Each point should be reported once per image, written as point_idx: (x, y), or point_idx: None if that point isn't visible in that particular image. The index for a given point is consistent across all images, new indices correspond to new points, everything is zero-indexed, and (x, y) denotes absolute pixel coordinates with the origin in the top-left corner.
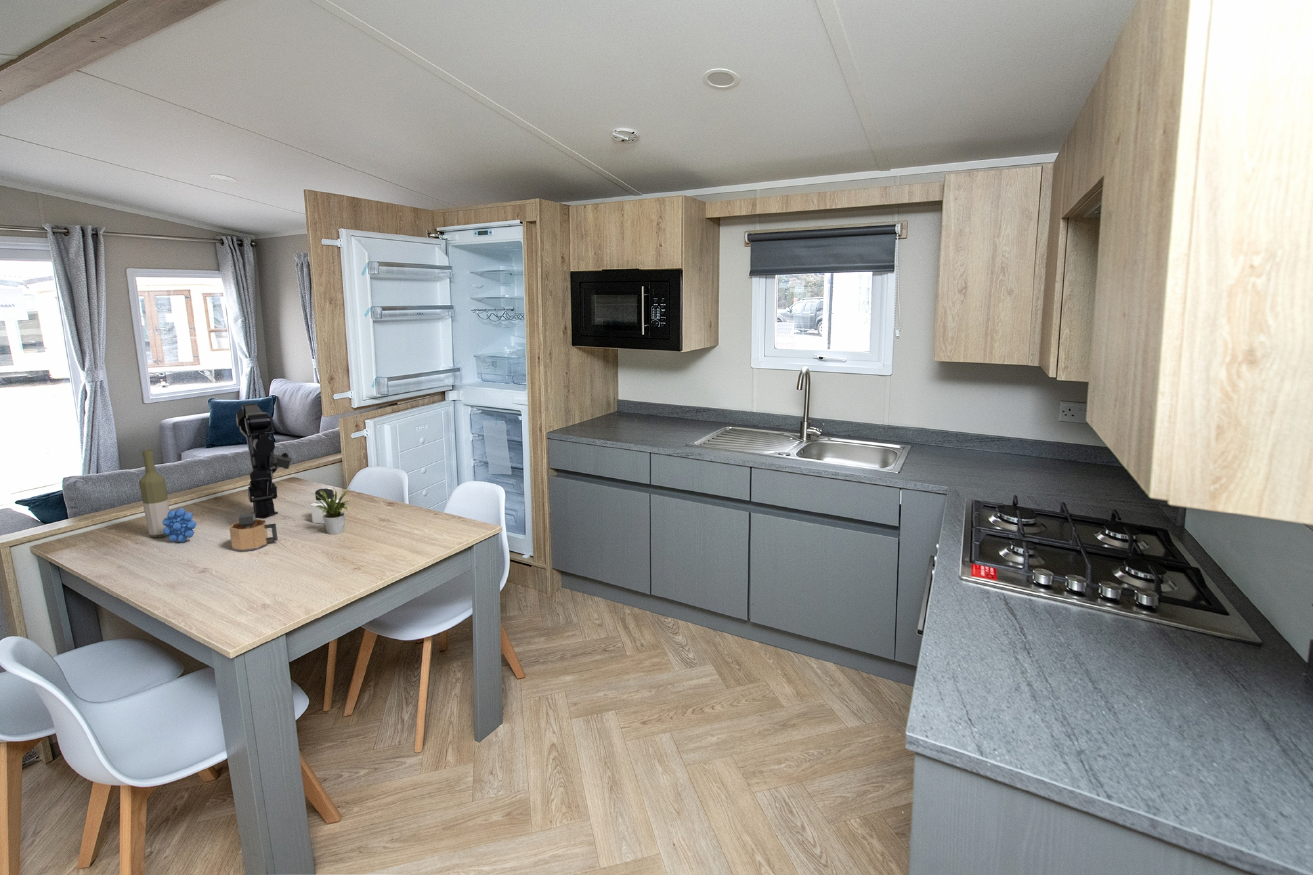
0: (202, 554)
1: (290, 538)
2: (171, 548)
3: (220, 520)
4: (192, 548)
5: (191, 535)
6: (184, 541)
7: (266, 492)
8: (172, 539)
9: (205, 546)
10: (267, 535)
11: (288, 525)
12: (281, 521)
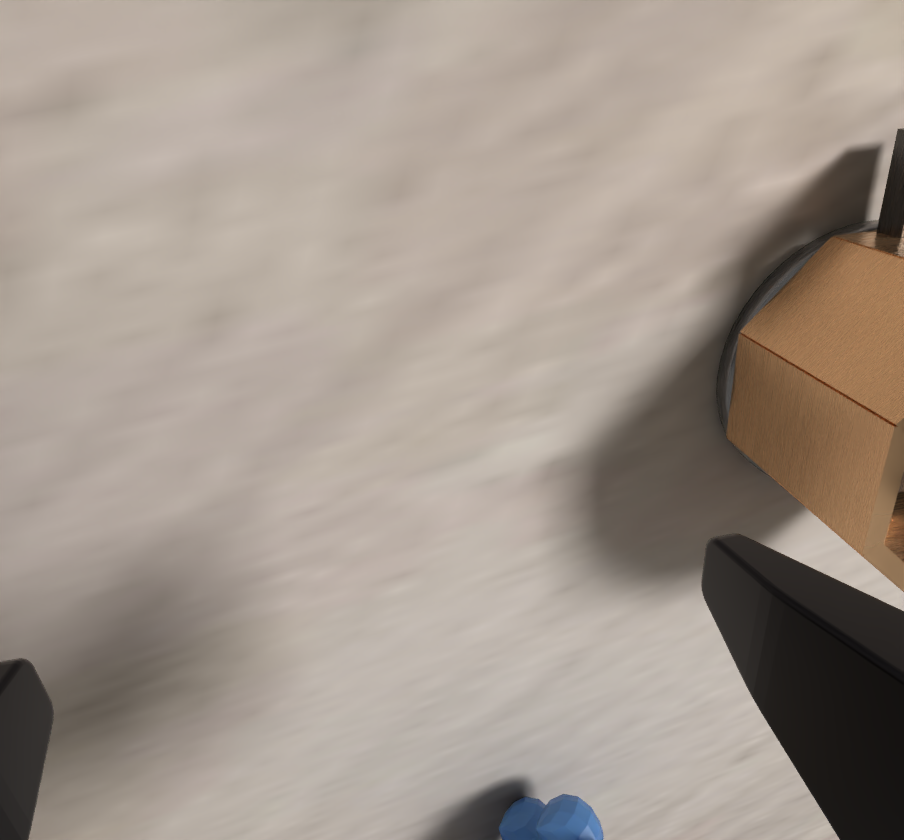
0: None
1: (821, 3)
2: (614, 804)
3: None
4: (672, 709)
5: (586, 803)
6: (534, 799)
7: (829, 591)
8: None
9: (669, 658)
10: (870, 246)
11: (298, 134)
12: (103, 265)
